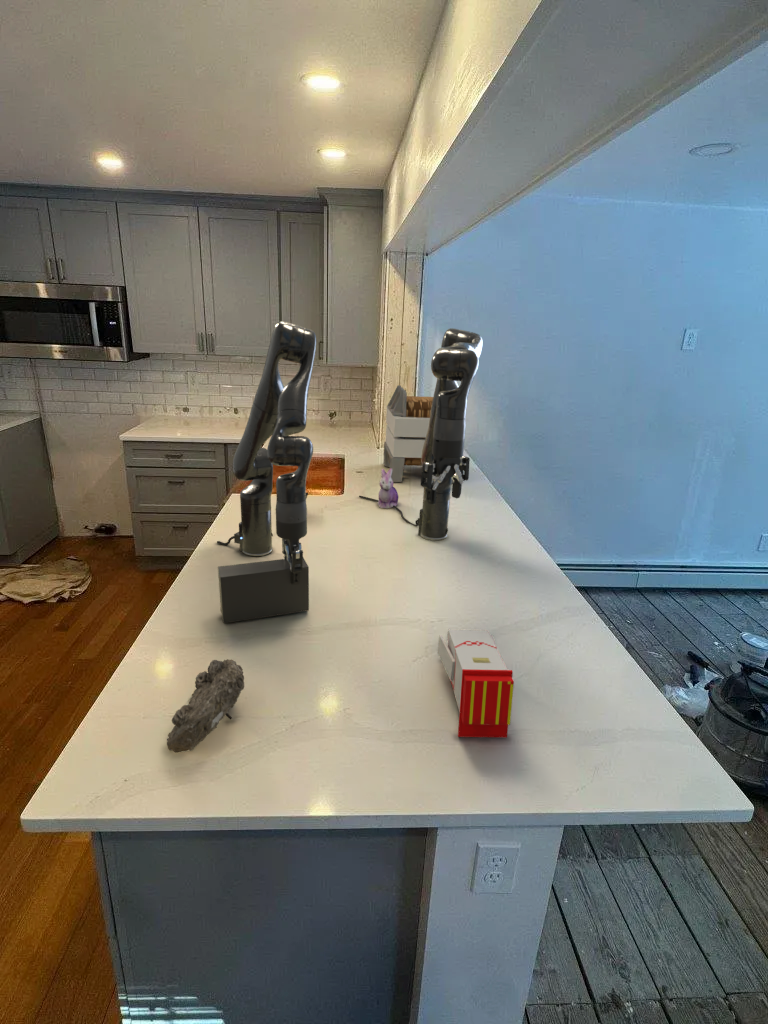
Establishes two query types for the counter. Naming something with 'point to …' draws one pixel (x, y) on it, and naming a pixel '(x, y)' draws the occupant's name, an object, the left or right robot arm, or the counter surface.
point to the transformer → (405, 431)
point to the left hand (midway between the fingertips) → (292, 578)
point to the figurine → (387, 491)
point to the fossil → (206, 705)
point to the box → (261, 590)
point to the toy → (478, 682)
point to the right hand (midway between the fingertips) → (443, 500)
